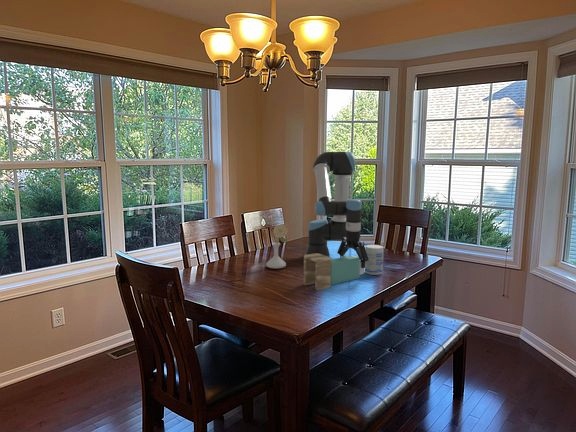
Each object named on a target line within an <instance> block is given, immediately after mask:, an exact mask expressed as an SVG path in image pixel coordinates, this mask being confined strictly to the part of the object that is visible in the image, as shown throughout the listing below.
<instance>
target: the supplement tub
mask: <svg viewBox="0 0 576 432" xmlns="http://www.w3.org/2000/svg"><path fill="white" fill-rule="evenodd" d="M365 250H366V253H367V256H368V259H369V260H368V261H365V268H364V274H367V275H370V276H381V275H382V274H383V271H384V267H383V266H384V246H382V245H379V244H367V245H366V246H365ZM365 259H366V258H365Z"/></svg>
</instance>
